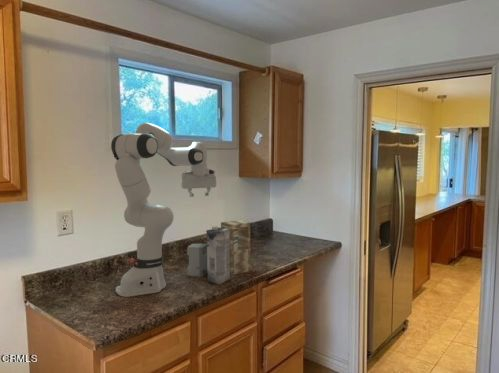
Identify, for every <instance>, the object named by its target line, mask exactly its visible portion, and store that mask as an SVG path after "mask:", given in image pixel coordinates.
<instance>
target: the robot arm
mask: <svg viewBox="0 0 499 373" xmlns="http://www.w3.org/2000/svg"><path fill="white" fill-rule="evenodd" d="M110 143H111V144H110V145H111V146H110V147H111V148H110V149H111V151H112V155H113V157H114V159H115V160H116V161H115V164H114V168H115V173H116V176H117V180H118V181H119V182H118V183H119V184H120V187H121V189H122V191H123V193H124V194H123V195H124V196H125V198H126V203H127V206H126V208H125V210H124V213H123V217H124V221H125V222H126V223H127V224H128V225H131V226H134V227H138V228H144V232H143V236H141V237H140V238H138V239H137V241H136V252H137V253H136V256H137V257H136V258H135V259H134V258H133V257H132V258H130V259H129V263H130V264H133V266H132V267H131V268H130V269H128V270H127V272H125V273H124V274H123V275H122V276H121V279H120V285H117V286H116V287H115V293H116V294H117V295H119V296H120V297H124V298H129V297H136V296H142V295H143V296H144V295H150V294H155V293H159V292H161V291H162V290H163V289H164V288H165V287H166V286H167V283H166V281H165V276H164V270H163V269H164V258H163V257H164V256H163V255H162V254H163V252H162V249H163V248H162V247H163V245H162V244H163V238H164V235H165V232H166V230H168V228H169V227H171V225H172V224H173V222H174V212H173V211H172V209H171V208H170V207H167V206H166V205H162V204H155V203H154V204H153V203H149V201H148V198H149V196H150V195H151V189H152V188H151V186H150V185H149V181H148V180H147V177H146V175H145V172H144V170H143V168H142V167H141V164H140V163H141V162H140V161H141V159H149V158H153V157H154V156H155V155H156V154H158V155H160V156H161V157H162V158H164V159H165V160H166V161H167V162H168V164H169V165H170V166H172V167H179V166H180V167H181V166H190V171H184V172H182V174H181V188H182V189H184V190H187V192H188V193H189V197H191V198H193V197H194V196H195V195H194V193H193V192H192V190H193V189H206V192H204V196H205V197H209V193H210V192H211V188H212V189H213V188H216V187H217V177H216V170H214V169H210V168H208V164H207V160H208V152H207V151H208V150H207V146H206V143H204V141H203V142H202V141H192V143H191V144H190V146H188V147H172V146H173V136H172V134H170V132H169V131H166V129H164V128H162V127H160V126H158V125H156V124H153V123H150V122H144V123H141V124H139V126H138V127H137V128H136V130H135V133H133V132H132V133H126V134H124V133H123V134H118V135H116V136H115V137H113V139H112V140H111V142H110Z"/></svg>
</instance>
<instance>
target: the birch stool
mask: <svg viewBox="0 0 499 373" xmlns="http://www.w3.org/2000/svg"><path fill="white" fill-rule="evenodd" d="M220 228H227V229H230V233H229V246H230V276H234V275H238V274H243V273H247V272H251V270H252V269H251V262H252V261H251V259H252V258H251V222H250V221H245V220H241V219H238V220H237V219H236V220H228V221H221V222H220ZM234 228H237V231H238V250H237V251H234Z"/></svg>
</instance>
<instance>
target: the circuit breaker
mask: <svg viewBox="0 0 499 373" xmlns="http://www.w3.org/2000/svg"><path fill="white" fill-rule="evenodd" d="M186 255H187V256H188V266H187V270H186V271H187V276H189V277H204V276H205V275H207V243H191V244H190V245H188V246H187V249H186Z"/></svg>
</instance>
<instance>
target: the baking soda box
mask: <svg viewBox="0 0 499 373" xmlns="http://www.w3.org/2000/svg"><path fill="white" fill-rule="evenodd" d="M237 250H238V231H237V228H234V251H237Z"/></svg>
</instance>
